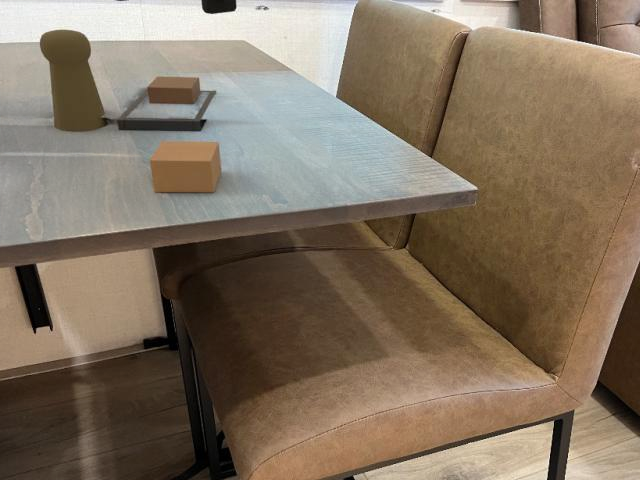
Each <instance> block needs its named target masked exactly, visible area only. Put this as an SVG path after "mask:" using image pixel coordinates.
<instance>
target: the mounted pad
mask: <svg viewBox="0 0 640 480" xmlns="http://www.w3.org/2000/svg"><path fill="white" fill-rule="evenodd" d="M200 82H201V81H200V77H194V76H193V77H190V76H156V77H155V78H154V79H153V80H152V81H151V82H150V84H148V86H147V87H146V89H147V91H148V94H147V97H148V103H149V104H164V105H165V104H167V105H168V104H169V105H194V104H195V103H196V102H197V100H198V98H199V96H200V95H201V93H202V92H201V91H202V90H201V83H200Z"/></svg>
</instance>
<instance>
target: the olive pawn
mask: <svg viewBox="0 0 640 480" xmlns="http://www.w3.org/2000/svg"><path fill="white" fill-rule="evenodd" d="M39 48H40V51H41V53H42V55H43V57H44V58H45V59H46V60H47V62H48V63H49V64H48V65H49V74H50V75H49V77H50V88H51V100H52V112H53V125H54V128H55V129H57V130H59V131H63V132H74V133H76V132H91V131H96V130H101V129H104V128H106V127H107V126H108V125H109V121H108V118H107V117H105V115H106V112H105V109H104V105H103V102H102V99H101V97H100V93H99V90H98V86H97V84H96V81H95V77H94V75H93V72H92V69H91V66H90V63H89V60H90V57H91V55H92V47H91V43H90V41H89V38H88V37H87V36H86V34H84V33H83V32H81V31H77V30H72V29H54V30H49V31H45V32H44V33H43V34H41V37H40V39H39Z"/></svg>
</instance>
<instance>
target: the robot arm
mask: <svg viewBox="0 0 640 480" xmlns="http://www.w3.org/2000/svg"><path fill="white" fill-rule="evenodd" d="M115 1H117V2H127V1H128V0H115ZM201 9H202V11H203V12H204V13H205V14H209V15H217V14H224V13H225V14H226V13H232V12H236V10H237V0H201Z"/></svg>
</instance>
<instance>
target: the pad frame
mask: <svg viewBox="0 0 640 480" xmlns="http://www.w3.org/2000/svg"><path fill="white" fill-rule="evenodd" d="M200 91H201V93H208V95H207V96H206V98H205V100H204V102H203V103H202V105H201V107H200V108H199V110H198V112H197V114H196V115H195V117H194V118H165V117H164V118H161V117H160V118H159V117H157V118H155V117H128V116H129V115H130V114H131V113H132V112H133V111H134V110H135V109H136V108H137V106H138V105H139V104H140V103H141V102H142V101H143V100H144V99H145V98H146V97H147V96H148V91H147V88H146V89H145V90H144V91H143V92H142V93H141V94H140V95H139V96H138V97H137V98H136V99H135V100H134V101H133V102H132V103H131V105H130V106H129V107H127V109H125V111H124V112H123V113H122V114H121V115H120V116H119V117H118V118H117V119H116V123H117V128H118V131H142V132H143V131H144V132H145V131H146V132H147V131H149V132H153V131H154V132H202V130H203V128H204V126H205V124H206V122H207V121H208V119H207V118H203V116H204V115H205V112H207V109H208V107H209V105H210V104H211V102H212V100H213V98H214V96H215V95H216V93H217V90H200Z"/></svg>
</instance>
